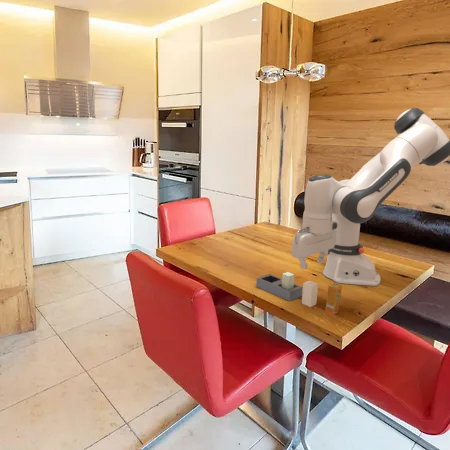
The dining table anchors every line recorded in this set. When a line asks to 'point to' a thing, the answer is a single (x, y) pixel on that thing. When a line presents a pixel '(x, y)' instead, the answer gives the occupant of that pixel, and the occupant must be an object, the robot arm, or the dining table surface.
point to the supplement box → (333, 298)
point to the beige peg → (288, 280)
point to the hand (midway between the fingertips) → (312, 265)
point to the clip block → (309, 293)
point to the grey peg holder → (278, 287)
